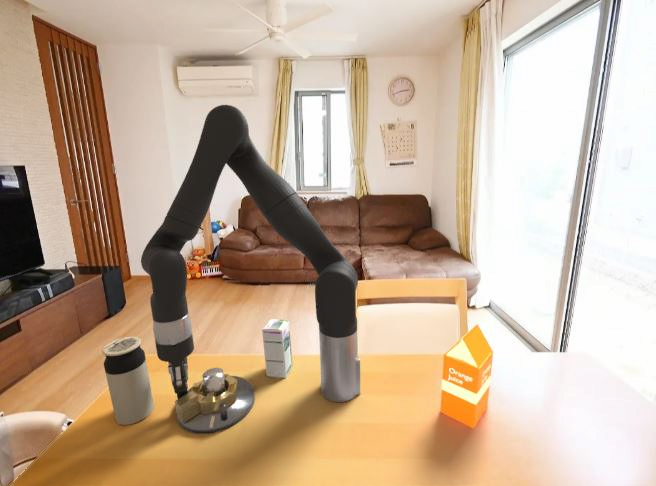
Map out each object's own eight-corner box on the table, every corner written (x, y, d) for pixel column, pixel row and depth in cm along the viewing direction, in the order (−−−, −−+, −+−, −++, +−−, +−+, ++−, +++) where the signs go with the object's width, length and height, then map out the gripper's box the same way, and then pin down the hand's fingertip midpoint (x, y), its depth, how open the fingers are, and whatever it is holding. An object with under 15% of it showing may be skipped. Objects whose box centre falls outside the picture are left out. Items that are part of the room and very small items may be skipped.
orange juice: (488, 406, 78) (496, 328, 73) (474, 429, 71) (481, 345, 67) (455, 391, 83) (460, 318, 78) (439, 411, 77) (444, 332, 72)
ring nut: (222, 379, 87) (220, 364, 86) (245, 395, 81) (244, 379, 80) (169, 410, 77) (166, 393, 76) (192, 431, 71) (189, 413, 69)
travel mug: (161, 406, 81) (150, 339, 76) (130, 430, 74) (116, 358, 69) (139, 397, 84) (127, 333, 80) (108, 419, 77) (92, 350, 73)
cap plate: (253, 375, 91) (251, 347, 89) (255, 424, 74) (252, 391, 72) (183, 387, 87) (179, 358, 85) (168, 442, 70) (162, 407, 68)
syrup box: (286, 378, 90) (283, 329, 86) (265, 376, 91) (261, 328, 87) (292, 366, 95) (290, 319, 91) (273, 364, 96) (269, 318, 93)
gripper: (155, 324, 78) (166, 388, 82) (153, 353, 66) (165, 426, 70) (190, 318, 81) (198, 380, 85) (193, 344, 69) (202, 414, 73)
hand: (183, 400), depth 78 cm, fingers closed
